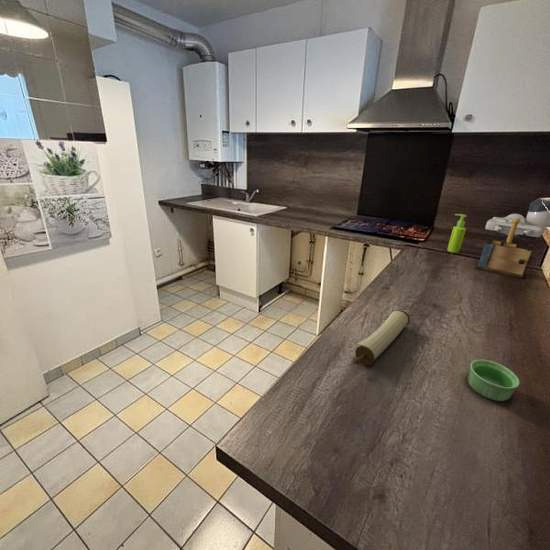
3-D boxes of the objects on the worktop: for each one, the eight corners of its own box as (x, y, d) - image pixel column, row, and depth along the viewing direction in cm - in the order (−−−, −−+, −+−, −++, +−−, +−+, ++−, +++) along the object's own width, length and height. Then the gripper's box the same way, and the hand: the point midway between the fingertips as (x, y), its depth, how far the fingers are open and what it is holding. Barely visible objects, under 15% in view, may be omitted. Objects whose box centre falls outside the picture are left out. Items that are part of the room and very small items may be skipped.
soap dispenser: (447, 248, 164) (457, 212, 156) (460, 251, 159) (471, 215, 151) (443, 250, 161) (453, 214, 153) (456, 253, 156) (467, 216, 148)
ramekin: (468, 368, 72) (473, 354, 70) (513, 386, 67) (520, 371, 65) (462, 389, 65) (467, 374, 64) (511, 410, 60) (519, 395, 58)
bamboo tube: (364, 376, 68) (368, 359, 66) (343, 365, 72) (346, 348, 70) (413, 323, 90) (417, 309, 88) (396, 317, 93) (399, 303, 91)
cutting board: (522, 274, 130) (534, 244, 125) (521, 278, 126) (534, 247, 120) (477, 265, 140) (487, 236, 134) (476, 268, 136) (486, 238, 130)
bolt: (515, 246, 128) (526, 218, 123) (515, 248, 126) (526, 219, 121) (488, 242, 133) (497, 215, 128) (488, 243, 131) (497, 216, 127)
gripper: (538, 236, 133) (540, 243, 123) (485, 228, 144) (482, 234, 134) (544, 223, 130) (545, 228, 120) (489, 216, 142) (487, 220, 132)
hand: (512, 231), depth 127 cm, fingers open, 8 cm apart
